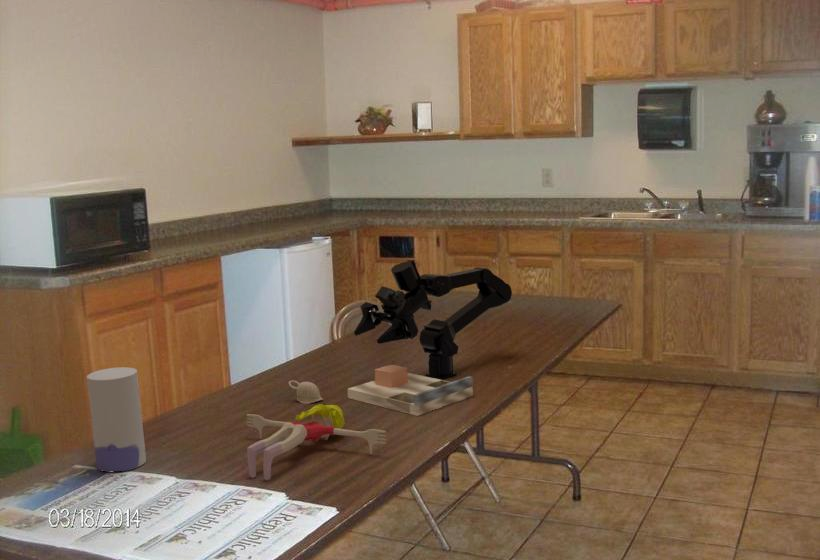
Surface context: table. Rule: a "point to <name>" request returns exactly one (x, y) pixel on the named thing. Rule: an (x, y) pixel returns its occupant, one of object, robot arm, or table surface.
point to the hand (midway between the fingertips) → (366, 338)
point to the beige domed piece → (306, 392)
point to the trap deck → (414, 394)
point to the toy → (302, 434)
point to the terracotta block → (391, 376)
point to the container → (116, 419)
